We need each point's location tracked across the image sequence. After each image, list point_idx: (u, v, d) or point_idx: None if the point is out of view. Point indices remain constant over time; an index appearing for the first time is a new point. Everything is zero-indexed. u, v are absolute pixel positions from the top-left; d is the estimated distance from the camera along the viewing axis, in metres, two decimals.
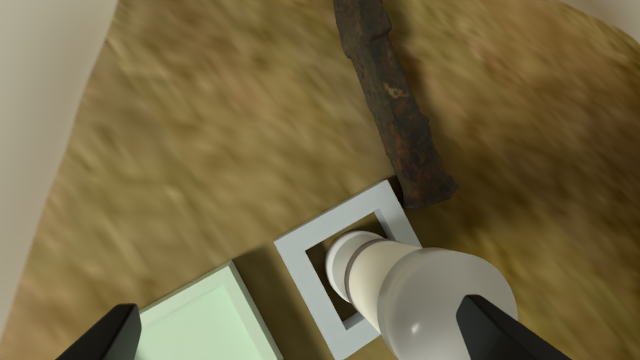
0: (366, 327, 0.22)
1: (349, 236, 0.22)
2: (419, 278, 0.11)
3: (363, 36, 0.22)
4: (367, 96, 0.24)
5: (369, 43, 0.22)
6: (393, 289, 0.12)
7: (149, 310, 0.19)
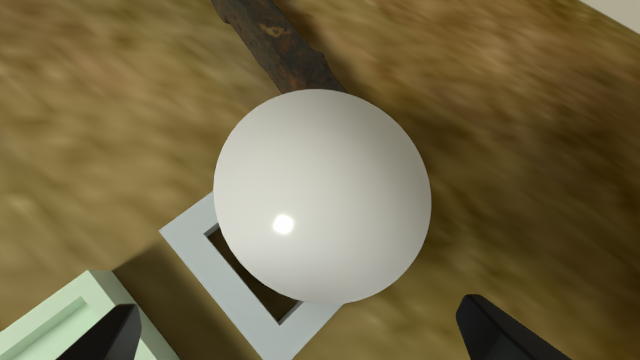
0: (306, 315, 0.16)
1: None
2: (247, 129, 0.07)
3: None
4: (252, 50, 0.21)
5: None
6: None
7: None
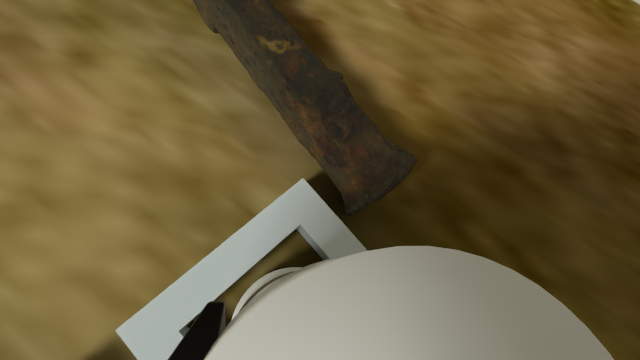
0: None
1: (256, 283, 0.13)
2: None
3: None
4: (249, 69, 0.16)
5: None
6: None
7: None
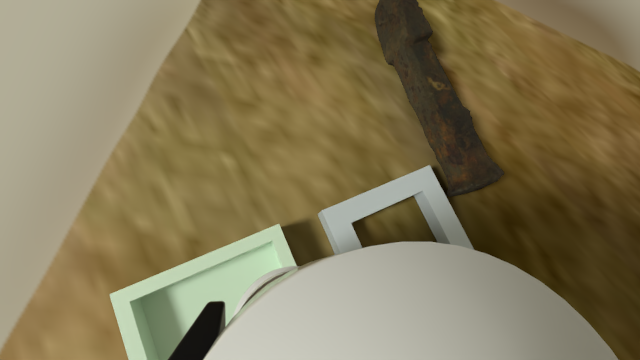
0: None
1: (257, 282, 0.13)
2: None
3: (408, 38, 0.25)
4: (410, 93, 0.26)
5: (413, 44, 0.25)
6: None
7: (198, 258, 0.18)
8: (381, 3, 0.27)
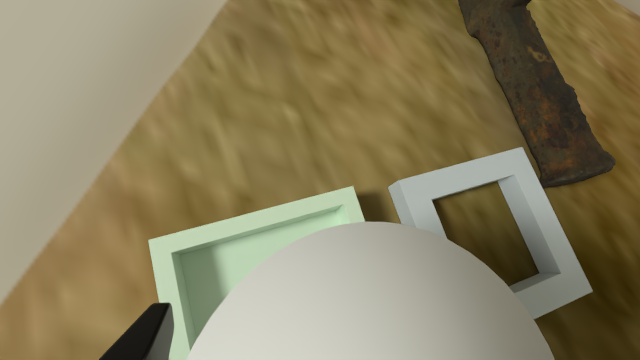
0: None
1: None
2: (230, 327, 0.04)
3: (506, 0, 0.21)
4: (499, 66, 0.23)
5: (511, 9, 0.22)
6: None
7: (257, 212, 0.15)
8: None
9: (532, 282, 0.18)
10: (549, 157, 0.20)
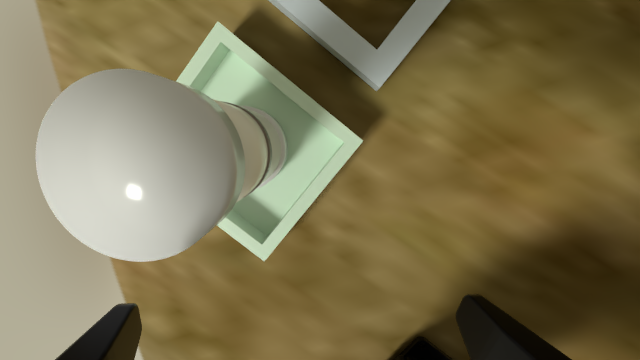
0: (399, 37, 0.19)
1: None
2: (46, 171, 0.08)
3: None
4: None
5: None
6: None
7: None
8: None
9: None
10: None
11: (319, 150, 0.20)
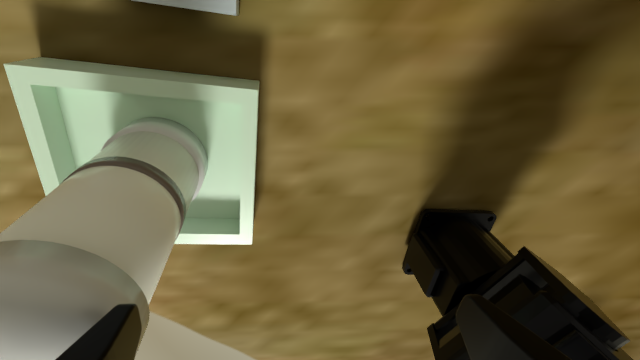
0: None
1: None
2: None
3: None
4: None
5: None
6: None
7: (38, 168, 0.16)
8: None
9: None
10: None
11: (227, 119, 0.18)
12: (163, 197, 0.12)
